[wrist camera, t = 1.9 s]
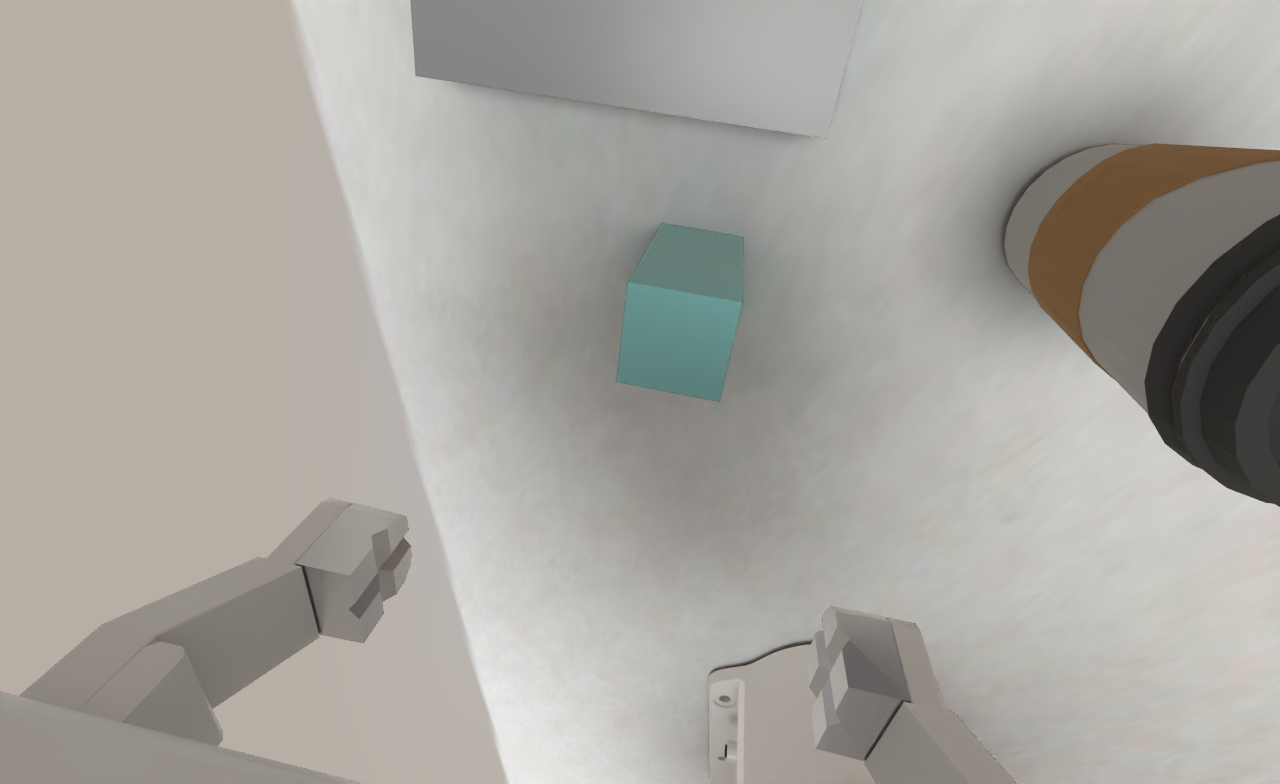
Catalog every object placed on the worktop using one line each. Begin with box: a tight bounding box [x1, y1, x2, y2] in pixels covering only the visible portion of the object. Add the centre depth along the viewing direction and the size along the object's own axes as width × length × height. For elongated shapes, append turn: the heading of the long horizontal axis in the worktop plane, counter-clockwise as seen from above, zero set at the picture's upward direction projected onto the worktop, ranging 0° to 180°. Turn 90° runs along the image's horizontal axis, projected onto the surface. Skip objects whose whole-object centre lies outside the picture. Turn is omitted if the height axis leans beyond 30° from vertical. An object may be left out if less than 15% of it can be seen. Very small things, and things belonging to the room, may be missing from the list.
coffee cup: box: [1004, 144, 1280, 507], centre depth 18 cm, size 8×8×15 cm
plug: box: [616, 223, 744, 402], centre depth 24 cm, size 4×4×9 cm
